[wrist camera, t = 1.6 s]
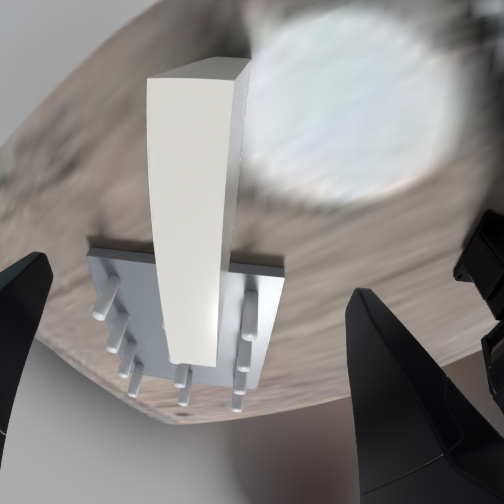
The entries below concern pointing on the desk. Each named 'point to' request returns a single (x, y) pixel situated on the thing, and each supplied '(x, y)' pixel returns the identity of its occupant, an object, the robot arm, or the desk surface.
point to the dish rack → (153, 330)
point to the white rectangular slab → (195, 195)
